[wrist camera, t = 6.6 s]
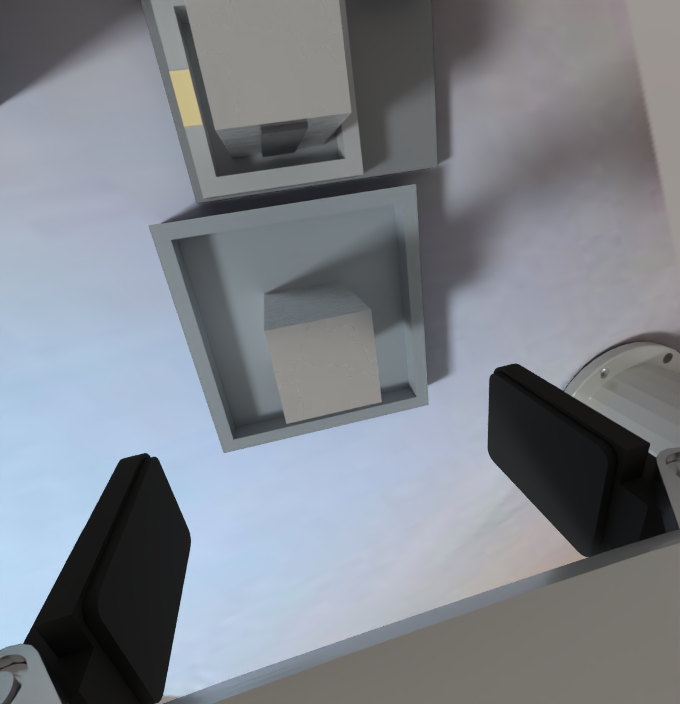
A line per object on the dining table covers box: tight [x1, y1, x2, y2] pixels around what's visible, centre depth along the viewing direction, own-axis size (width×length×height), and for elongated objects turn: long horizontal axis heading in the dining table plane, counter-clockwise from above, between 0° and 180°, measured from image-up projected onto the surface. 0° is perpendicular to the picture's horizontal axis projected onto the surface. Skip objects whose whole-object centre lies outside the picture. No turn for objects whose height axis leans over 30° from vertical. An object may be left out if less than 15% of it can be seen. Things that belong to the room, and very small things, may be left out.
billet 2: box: [264, 280, 382, 424], centre depth 19 cm, size 4×5×7 cm
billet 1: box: [184, 0, 351, 158], centre depth 14 cm, size 4×5×7 cm
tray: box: [149, 184, 429, 453], centre depth 22 cm, size 14×14×2 cm
